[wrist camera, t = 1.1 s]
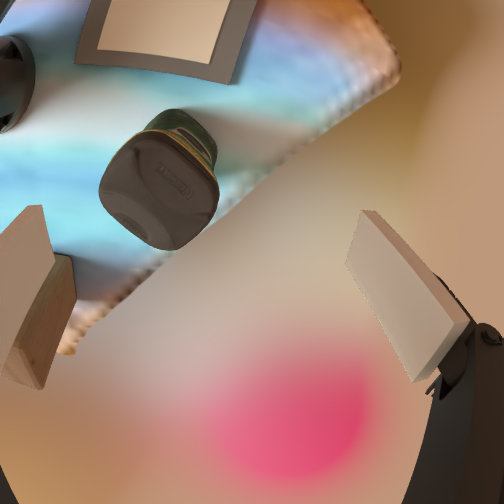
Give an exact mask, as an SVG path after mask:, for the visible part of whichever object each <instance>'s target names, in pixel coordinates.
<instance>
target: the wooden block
mask: <svg viewBox="0 0 504 504" xmlns="http://www.w3.org/2000/svg"><path fill="white" fill-rule="evenodd" d="M54 257H55V263H54V265H53V266H52V268H51V270H50V272H49V273H48V275H47V277H46V279H45V280H44V282H43V284H42V286H41V288H40V289H39V291H38V293H37V295H36V297H35V299H34V301H33V303H32V305H31V306H30V308H29V310H28V312H27V314H26V316H25V319H24V321H23V323H22V325H21V327H20V329H19V331H18V333H17V336H16V338H15V340H14V342H13V345H12V347H11V349H10V352H9V354H8V356H7V359H6V361H5V364H4V366H3V369H2V372H1V374H0V377H3V378H6V379H8V380H11V381H14V382H17V383H20V384H23V385H26V386H29V387H31V388H34V389H38V390H42V389H43V388H44V386H45V382H46V379H47V376H48V373H49V370H50V367H51V364H52V361H53V359H54V356H55V353H56V350H57V348H58V345H59V342H60V340H61V337H62V335H63V332H64V330H65V327H66V325H67V322H68V320H69V317H70V315H71V313H72V310H73V308H74V306H75V303H76V301H77V299H76V292H75V284H74V276H73V267H72V260H71V258H70V257H68V256H64V255H58V254H54Z"/></svg>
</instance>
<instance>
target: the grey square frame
mask: <svg viewBox="0 0 504 504" xmlns="http://www.w3.org/2000/svg"><path fill="white" fill-rule="evenodd" d="M256 3H257V0H91V3H90V6H89V9H88V12H87V15H86V18H85V22H84V25H83V29H82V32H81V36H80V39H79V43H78V47H77V51H76V55H75V60H74V64H90V65H105V66H117V67H127V68H136V69H144V70H151V71H158V72H165V73H171V74H177V75H182V76H188V77H193V78H198V79H203V80H207V81H212V82H217V83H221V84H225V85H229V83H230V80H231V77H232V73H233V70H234V67H235V64H236V61H237V58H238V55H239V52H240V49H241V46H242V43H243V40H244V37H245V34H246V31H247V28H248V25H249V22H250V19H251V17H252V14H253V11H254V8H255V6H256Z"/></svg>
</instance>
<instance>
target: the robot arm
mask: <svg viewBox="0 0 504 504" xmlns="http://www.w3.org/2000/svg"><path fill="white" fill-rule="evenodd" d="M14 2H15V0H0V23H1V22H2V20H3V18H4V17H5V15H6V14H7V12H8V11H9V9H10V8H11V6H12V5H13V3H14ZM34 82H35V64H34V59H33V55H32V53H31V51H30V49H29V47H28V46H27V44H26V43H25V42H24V41H22V40H21V39H19V38H17V37H13V36H0V134H1V133H4V132H6V131H8V130H9V129H11V128H12V127H13V126H14V125H15V124H16V123H17V122H18V121H19V120H20V118H21V117H22V115H23V114H24V112H25V110H26V109H27V106H28V104H29V102H30V99H31V96H32V93H33V88H34ZM54 263H55V257H54V254H53V250H52V247H51V243H50V239H49V235H48V231H47V226H46V222H45V218H44V213H43V208H42V205H30V206H27V207H26V208H25V209H24V210H23V211H22V212H21V213H20V214H19V215H18V216H17V217H16V218H15V219H14V220H13V221H12V222H11V224H10V225H9V226H8V227H7V228H6V229H5V230H4V231H3V232H2V233H1V235H0V374H1V372H2V369H3V366H4V364H5V361H6V359H7V356H8V354H9V352H10V349H11V347H12V345H13V342H14V340H15V338H16V336H17V333H18V331H19V329H20V327H21V325H22V323H23V321H24V319H25V316H26V314H27V312H28V310H29V308H30V306H31V305H32V303H33V301H34V299H35V297H36V295H37V293H38V291H39V289H40V288H41V286H42V284H43V282H44V280H45V279H46V277H47V275H48V273H49V272H50V270H51V268H52V266H53V265H54ZM345 265H346V266H347V268H348V270H349V271H350V273H351V275H352V276H353V278H354V280H355V281H356V283H357V285H358V286H359V288H360V290H361V291H362V293H363V295H364V296H365V298H366V300H367V301H368V303H369V305H370V307H371V308H372V310H373V312H374V314H375V316H376V317H377V319H378V321H379V323H380V324H381V326H382V328H383V330H384V332H385V333H386V335H387V337H388V339H389V341H390V343H391V344H392V346H393V348H394V350H395V352H396V354H397V356H398V358H399V359H400V361H401V363H402V365H403V367H404V369H405V371H406V373H407V375H408V377H409V378H410V381H411V383H413V382H417V381H421V380H424V379H427V378H429V376H430V375H431V374H432V372H434V370H435V369H436V368H437V367H438V369H439V371H440V372H441V374H440V375H439V376H438V377H437V379H436V380H435V381H434V382H433V383H432V385H431V386H430V387H429V388H428V389H427V391H426V393H425V394H427V395H428V394H429V393H430V392H431V390H432V389H434V388H435V390H434V393H433V394H432V397H433V400H432V405H431V409H430V414H429V418H428V422H427V426H426V431H425V434H424V438H423V442H422V445H421V449H420V452H419V456H418V459H417V462H416V465H415V468H414V471H413V474H412V477H411V480H410V483H409V486H408V488H407V491H406V494H405V496H404V499H403V501H402V504H504V338H502V336H501V334H500V333H499V332H498V331H497V330H496V329H495V328H494V327H492V326H491V325H489V324H486V323H479V324H478V325H477V323H476V322H475V321H474V320H473V318H472V317H471V316H470V314H469V313H468V312H467V310H466V309H465V308H464V306H463V305H462V304H461V302H460V301H459V300H458V299H457V298H455V295H454V294H453V292H452V291H451V290H449V288H448V286H447V285H446V284H445V283H444V282H443V280H442V279H441V278H439V277H438V276H437V275H435V274H434V273H433V272H432V271H431V270H430V269H429V268H428V267H427V266H426V264H425V263H424V262H423V261H422V260H421V259H420V258H419V256H418V255H417V254H416V253H415V252H414V251H413V250H412V249H411V248H410V246H409V245H408V244H407V243H406V242H405V241H404V240H403V239H402V238H401V237H400V236H399V234H398V233H396V231H395V230H394V229H393V228H392V227H391V226H390V225H389V224H388V223H387V222H386V221H385V220H384V219H383V218H382V217H381V216H380V215H379V214H378V213H377V212H376V211H368V210H361V211H360V215H359V219H358V222H357V226H356V229H355V232H354V236H353V240H352V242H351V246H350V249H349V253H348V255H347V259H346V262H345ZM0 504H19V503H18V501H17V500H16V497H15V496H14V494H13V492H12V490H11V488H10V485H9V483H8V481H7V479H6V477H5V475H4V473H3V471H2V468H1V466H0Z"/></svg>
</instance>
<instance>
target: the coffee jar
mask: <svg viewBox="0 0 504 504" xmlns="http://www.w3.org/2000/svg"><path fill="white" fill-rule="evenodd" d="M216 158H217V146H216V144H215V142H214V140H213V139H212V137H211V136H210V135H209V134H208V132H207V131H206V130H205V129H204V128H203V127H202V126H201V125H200V124H199V123H198V122H197V121H196V120H195V119H193V118H192V117H191V116H189V115H188V114H187V113H185V112H183V111H181V110H178V109H168V110H165V111H163V112H161V113H160V114H159V115H157V116H156V117H155V118H154V119H153V120H152V121H151V122H150V123H149V124H148V125H147V126H146V127H145V129H144V130H143V131H142V132H139V133H137V134H135V135H134V136H133V137H131V138H130V139H129V140H128V141H127V142H126V143H125V144H124V145H123V146H122V147H121V148H120V149H119V150H118V151H117V152H116V154H115V155H114V156H113V158H112V159H111V161H110V162H109V164H108V166H107V168H106V171H105V173H104V174H103V176H102V179H101V182H100V185H99V198H100V201H101V203H102V205H103V207H104V208H105V209H106V210H107V212H108V213H109V214H110V215H111V216H113V217H114V218H115V219H116V220H117V221H118V222H119V223H120V224H121V225H123V226H124V227H125V228H126V229H127V230H129V231H130V232H131V233H133V234H134V235H135V236H137V237H138V238H140V239H141V240H142V241H144V242H145V243H147V244H148V245H150V246H152V247H154V248H157V249H160V250H168V251H172V250H178V249H180V248H181V247H183V246H184V245H186V244H187V243H188V242H190V241H191V240H192V239H193V238H194V237H196V236H197V235H198V234H199V233H200V232H201V231H202V230H203V229H204V228H205V227H206V226H207V225H208V223H209V222H210V221H211V219H212V217H213V216H214V214H215V212H216V209H217V205H218V201H219V196H220V191H219V186H218V182H217V180H216V177H215V175H214V172H213V171H214V166H215V162H216Z"/></svg>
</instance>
